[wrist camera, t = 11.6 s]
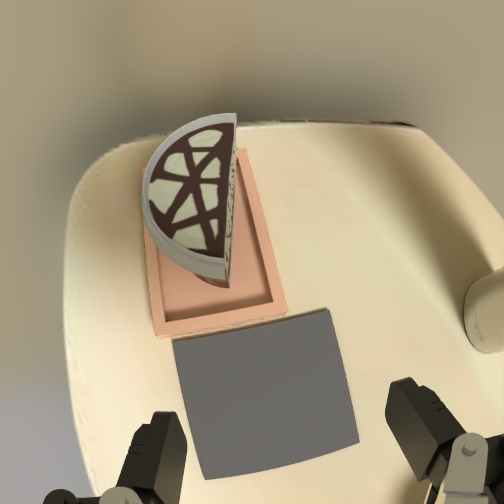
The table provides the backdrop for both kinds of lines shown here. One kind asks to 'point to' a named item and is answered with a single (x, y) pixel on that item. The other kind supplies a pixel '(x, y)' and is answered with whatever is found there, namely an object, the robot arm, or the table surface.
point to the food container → (194, 197)
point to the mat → (266, 395)
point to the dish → (242, 274)
